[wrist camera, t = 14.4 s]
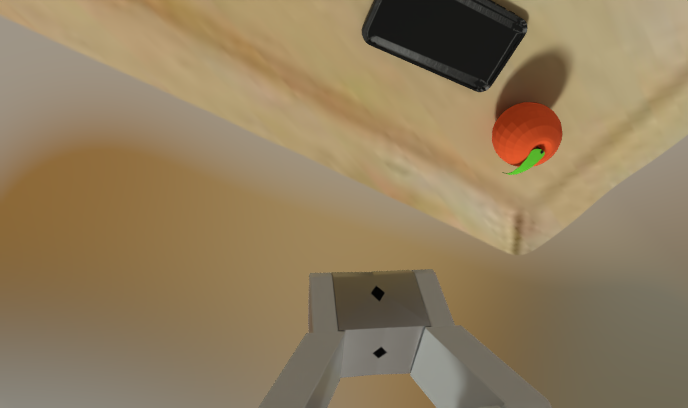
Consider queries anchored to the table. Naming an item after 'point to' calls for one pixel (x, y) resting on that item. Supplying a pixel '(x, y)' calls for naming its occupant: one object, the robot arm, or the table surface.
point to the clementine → (526, 135)
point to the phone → (447, 36)
